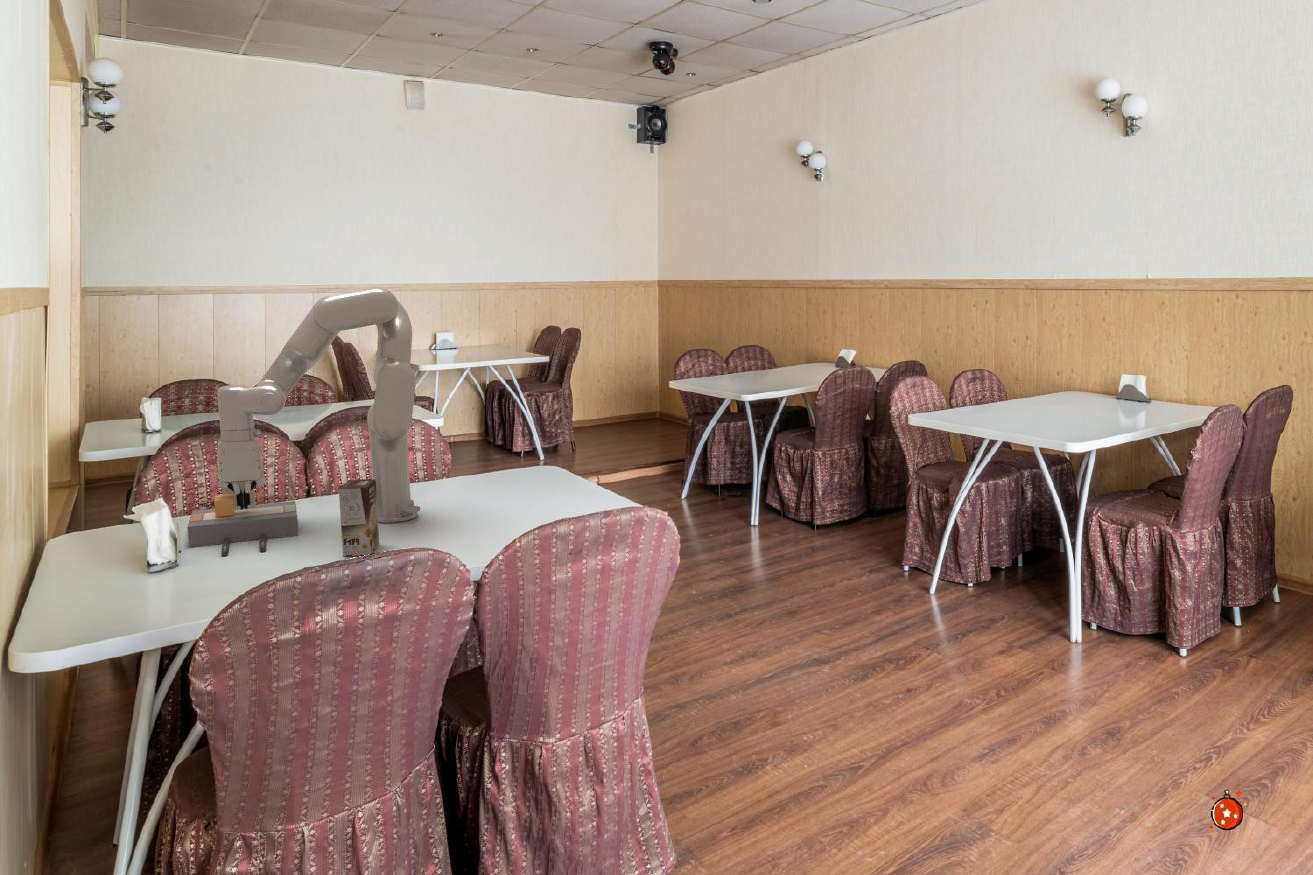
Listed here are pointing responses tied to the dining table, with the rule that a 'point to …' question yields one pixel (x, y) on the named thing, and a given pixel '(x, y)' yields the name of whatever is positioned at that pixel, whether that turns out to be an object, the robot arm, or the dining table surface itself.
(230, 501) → the knob
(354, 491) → the coffee box
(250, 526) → the box
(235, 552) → the dining table surface
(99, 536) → the dining table surface
